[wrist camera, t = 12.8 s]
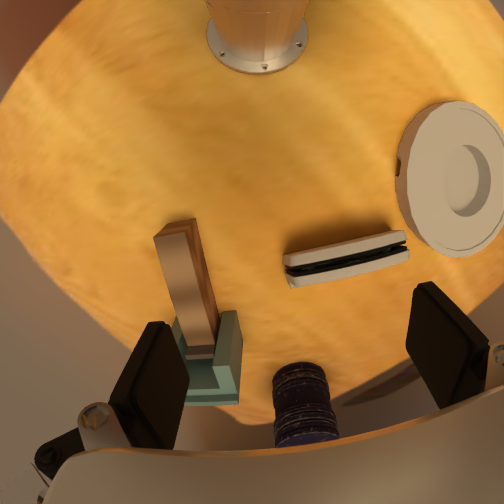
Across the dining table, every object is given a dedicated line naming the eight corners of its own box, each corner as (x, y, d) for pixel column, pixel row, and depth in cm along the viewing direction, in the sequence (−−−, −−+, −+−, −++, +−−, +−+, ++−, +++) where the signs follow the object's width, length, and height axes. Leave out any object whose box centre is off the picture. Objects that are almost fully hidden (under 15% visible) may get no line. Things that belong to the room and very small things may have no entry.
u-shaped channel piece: (176, 316, 43) (152, 375, 31) (235, 310, 43) (228, 372, 30) (186, 345, 46) (168, 405, 33) (243, 341, 45) (238, 404, 33)
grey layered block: (287, 287, 41) (289, 301, 31) (280, 255, 41) (280, 259, 31) (395, 261, 39) (425, 267, 30) (389, 230, 39) (418, 227, 29)
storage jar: (260, 377, 48) (261, 446, 34) (309, 352, 46) (323, 423, 32) (290, 403, 51) (295, 467, 37) (334, 382, 48) (351, 447, 34)
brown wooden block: (167, 223, 38) (147, 243, 31) (195, 218, 38) (180, 237, 30) (196, 326, 44) (186, 359, 37) (221, 323, 44) (214, 358, 36)
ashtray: (456, 76, 29) (471, 73, 25) (512, 191, 34) (527, 196, 31) (362, 163, 35) (373, 165, 31) (437, 275, 41) (449, 286, 37)
